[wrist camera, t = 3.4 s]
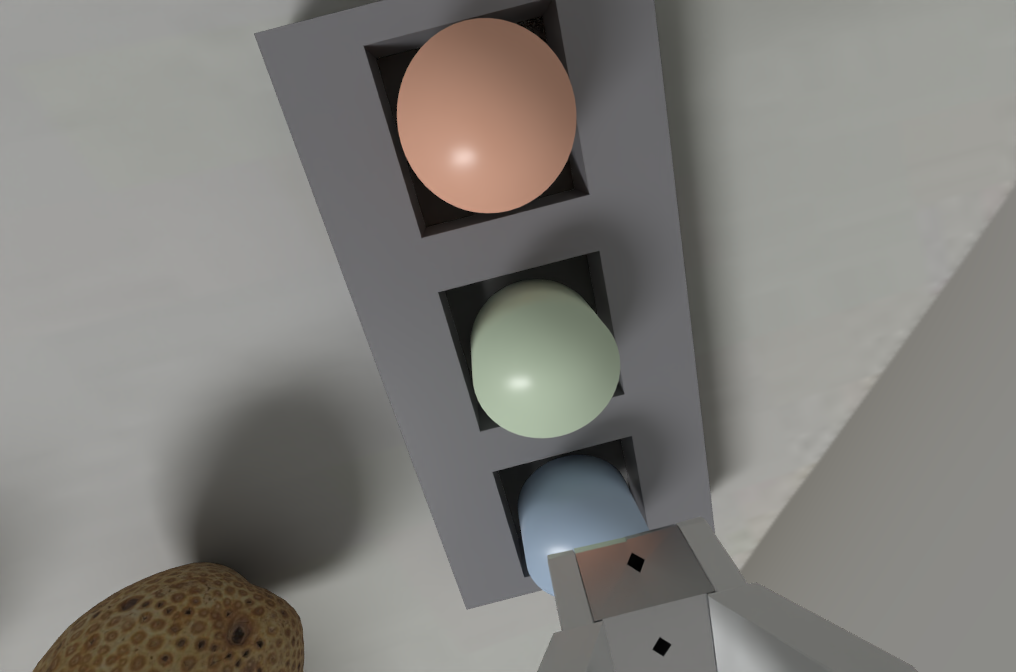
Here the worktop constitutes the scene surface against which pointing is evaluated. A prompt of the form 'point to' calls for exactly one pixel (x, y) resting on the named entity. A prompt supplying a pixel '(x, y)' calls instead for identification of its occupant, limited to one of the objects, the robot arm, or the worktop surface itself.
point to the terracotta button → (486, 115)
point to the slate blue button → (573, 510)
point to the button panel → (505, 260)
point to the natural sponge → (183, 627)
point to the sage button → (542, 359)
